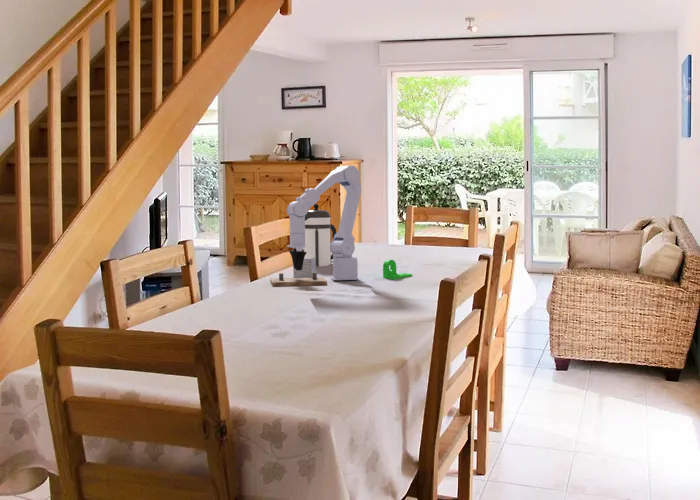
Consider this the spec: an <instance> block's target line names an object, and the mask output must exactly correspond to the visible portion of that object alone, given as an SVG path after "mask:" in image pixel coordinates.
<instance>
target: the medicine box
mask: <svg viewBox="0 0 700 500" xmlns="http://www.w3.org/2000/svg"><path fill="white" fill-rule="evenodd" d="M292 268H293V269H292V271H293V278H313V273H316V266H315V258H304V261H303V267H302V270H296V269H294V266H293V265H292Z"/></svg>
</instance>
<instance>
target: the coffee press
mask: <svg viewBox="0 0 700 500" xmlns="http://www.w3.org/2000/svg"><path fill="white" fill-rule="evenodd" d="M319 208H320V206H319V204H318V203H315V204H314V205H313V209H308V212H307V214H306V215H305V245H306V247H304V248H302V250H304V252H307V253H306V255H305V257H304V258H315V267H316V266H319V267H326V266H330V265H332V261H333V253H332V252H331V251H330V243H331V242H332V240H333V239H334V235H335V234H336V233H337V229H336V227H335V225H334V224H331V219H332V215H331V214H330V212H329V211H328V210H325V209H319ZM331 236H332V237H331Z"/></svg>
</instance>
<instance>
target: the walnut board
mask: <svg viewBox="0 0 700 500" xmlns="http://www.w3.org/2000/svg"><path fill="white" fill-rule="evenodd" d="M269 280H270V281H269V282H270V285H271V286H272V288H273V287H275V288H276V287H303V286H305V287H306V286H308V287H309V286H328V281H327V280H326V279H325V278H324V277H323V276H321V277H318V273H317V272H315V273H313V278H294V277H286V278H285V277H284V273H282V272H281V273H278V278H269Z"/></svg>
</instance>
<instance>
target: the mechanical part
mask: <svg viewBox="0 0 700 500" xmlns="http://www.w3.org/2000/svg"><path fill="white" fill-rule="evenodd" d="M412 276H413V273H407V272H400V273H398V272H397V263H396V261H395V260H393V259H386V260H384V261H383V265H382V278H383V279H388V280H393V281H394V280H398V279H399V280H400V279H404V278H409V277H412Z"/></svg>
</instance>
